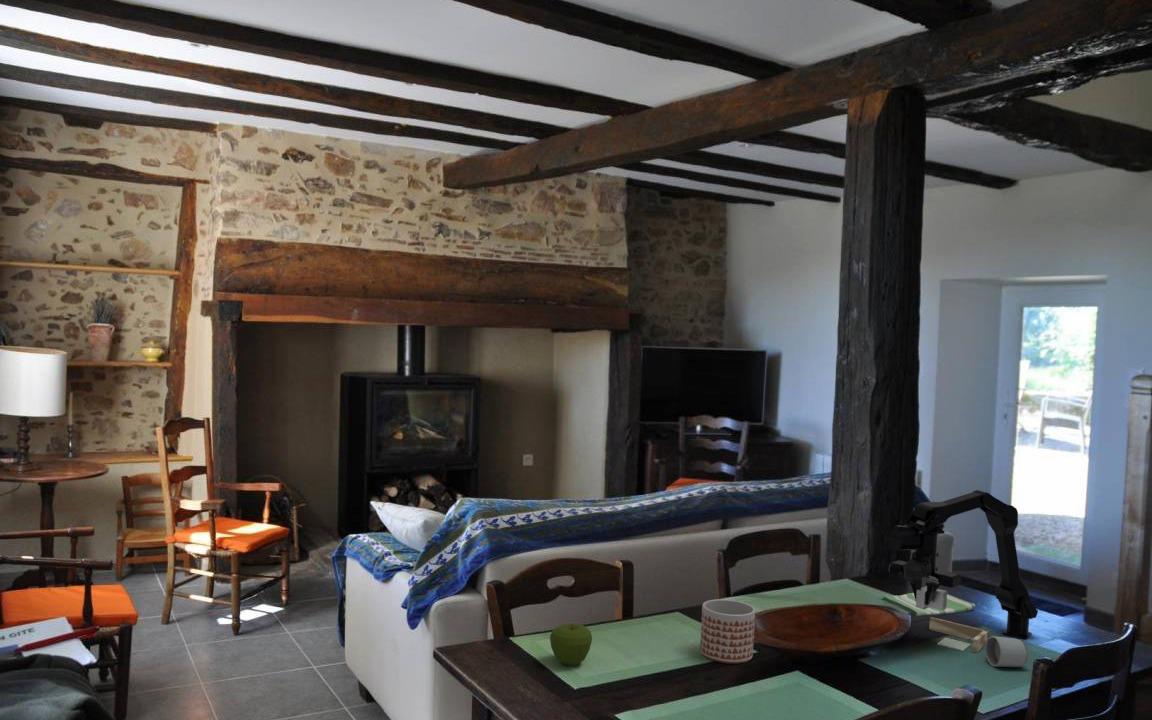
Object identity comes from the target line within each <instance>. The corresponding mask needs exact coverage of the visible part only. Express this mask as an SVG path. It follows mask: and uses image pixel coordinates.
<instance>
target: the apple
mask: <svg viewBox="0 0 1152 720" xmlns="http://www.w3.org/2000/svg"><path fill="white" fill-rule="evenodd" d="M549 641H550V647H551V649H552V652H553V654H554V655H553V656H554V657H555V659H556V660H558V661H559V662H560V663H562V664H564V665H565V666H570V667H571V666H572V667H573V666H574V667H575V666H577V665H579V664H580V663H582V662H584V661H585V660H586V658H587V656H588V654H589V652H590V649H591V644H592V642H593V635H592V632H591V630H590V629H589V628H588V627H586V626H585V625H583V624H580V623H563V624H561V625H558V626H556V627H555V628H554V629H553V630H552V632H551V633H550V636H549Z"/></svg>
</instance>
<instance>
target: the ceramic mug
mask: <svg viewBox="0 0 1152 720" xmlns="http://www.w3.org/2000/svg"><path fill="white" fill-rule="evenodd" d="M984 647H985V651H984V652H985V657H986V659H987V662H988V663H989V664H990V666H992V667H996V668H998V667H999V668H1021V667H1024V666H1025V665H1026V663H1027V661H1028V657H1029V653H1028V649H1027V646H1026V644H1025V642H1023V641H1022V640H1021V639H1019V638H1016V637H1005V636H995V635H992V636H990V637H989V638H988V640H987V642H986V645H985V646H984Z"/></svg>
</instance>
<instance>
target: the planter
mask: <svg viewBox="0 0 1152 720" xmlns="http://www.w3.org/2000/svg"><path fill="white" fill-rule="evenodd" d="M755 621H756V608H755V607H754V606H753V605H751V604H749V603H746V602H743V601H739V600H735V599H726V598H724V599H723V598H721V599H719V598H718V599H710V600H706V601H704V602H703V603H702V607H701V623H700V624H701V625H700V638H699V639H700V641H699V642H700V644H699V653H700V654H701V655H702V656H703V657H704V658H706V659H707V660H711V661H713V662H717V663H722V664H730V665H732V664H734V665H736V664H745V663H747V662H750V661H751V660H752V659H753V656H754V643H755V641H754V638H755Z"/></svg>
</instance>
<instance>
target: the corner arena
mask: <svg viewBox="0 0 1152 720" xmlns="http://www.w3.org/2000/svg"><path fill="white" fill-rule="evenodd" d="M928 627H929V630H930V631H933V632H937V633H941V634H944V635H948V636H949V635H950V636H952V637H953V636H954V637H957V638H961V639H966V640H969V639H970V640H969V641H971V651H970V652H971V653H975V654H977V653H978V652H979V651H980V650H981V648H982V647H983V646H984V647H986V642H987V640H988V638H989V636H990V635H989V634H990V631H989V630H987V629H984V628H983V629H982V628H978V627H974V626H970V625H966V624H964V623H963V624H962V623H958V622H953V621H950V620H947V619H946V620H945V619H941V618H937V617H934V616H931V617H930V616H929V626H928ZM984 647H983V648H984ZM983 648H982V649H983Z"/></svg>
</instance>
